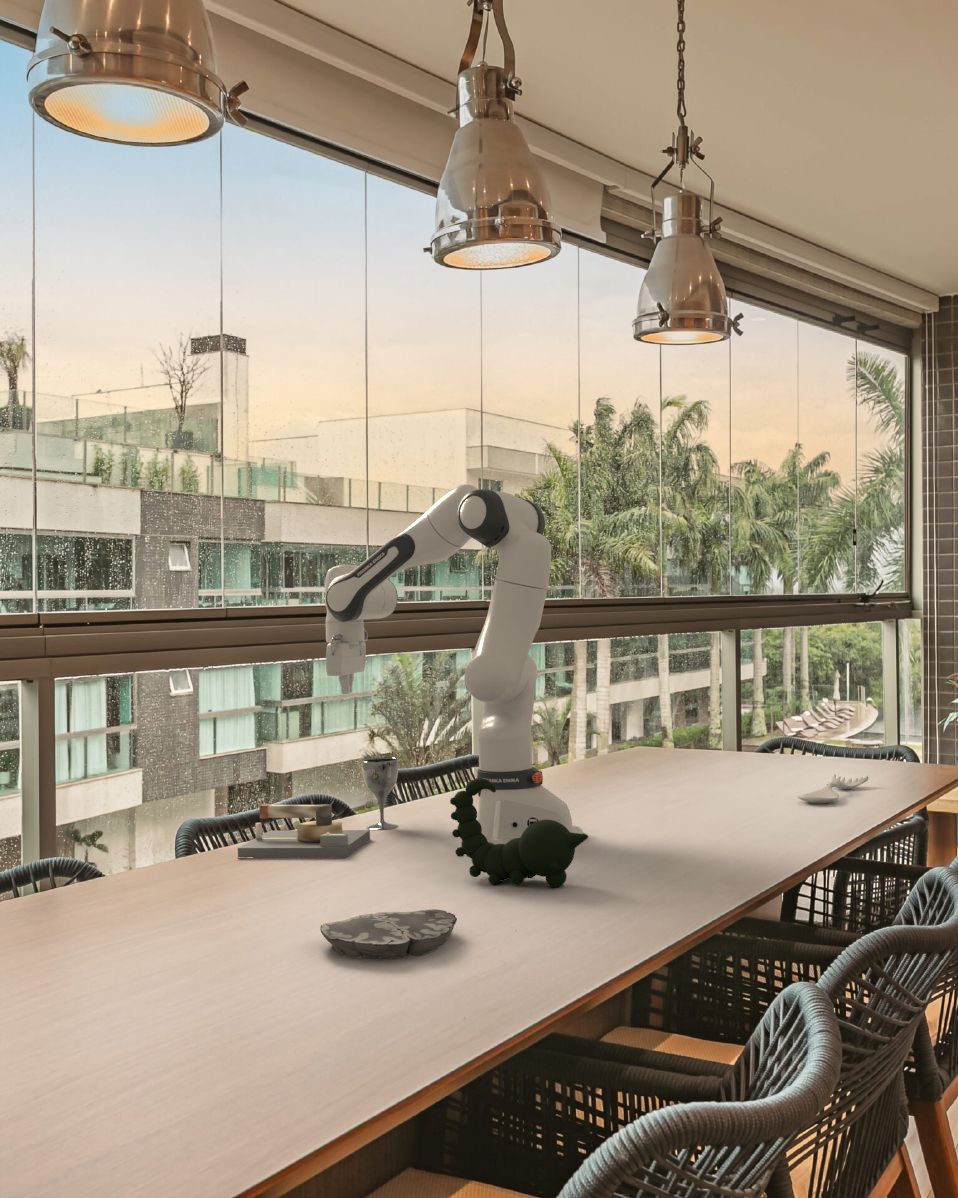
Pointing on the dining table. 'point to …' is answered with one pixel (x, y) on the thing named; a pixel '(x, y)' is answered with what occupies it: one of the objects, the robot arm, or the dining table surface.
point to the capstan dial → (307, 829)
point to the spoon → (827, 793)
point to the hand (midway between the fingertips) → (346, 693)
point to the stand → (303, 844)
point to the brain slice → (390, 933)
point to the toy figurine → (513, 845)
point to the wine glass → (380, 783)
